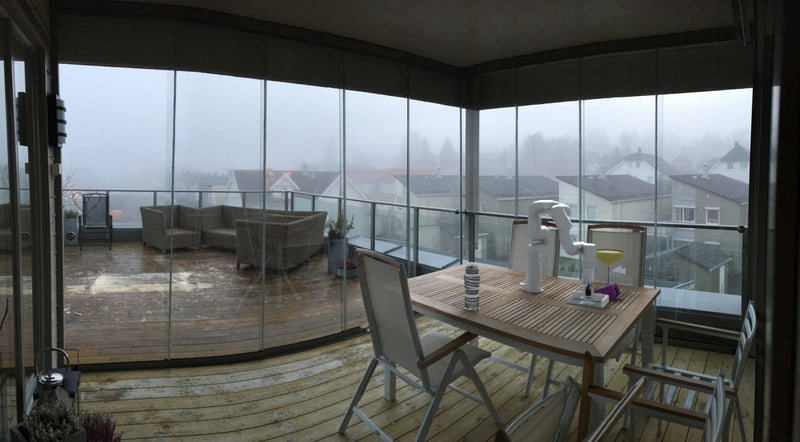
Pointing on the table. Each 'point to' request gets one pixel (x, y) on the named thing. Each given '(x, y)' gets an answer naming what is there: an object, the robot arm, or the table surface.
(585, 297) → the angle bracket
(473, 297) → the decorative candle
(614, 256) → the cocktail glass
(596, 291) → the mounting bracket
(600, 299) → the tray
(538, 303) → the table surface
